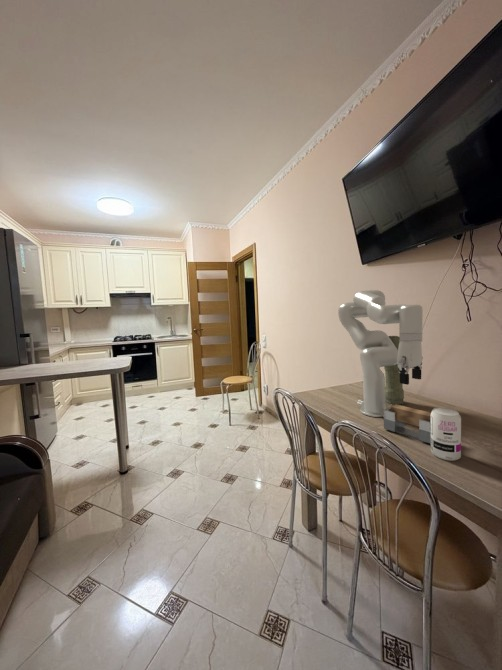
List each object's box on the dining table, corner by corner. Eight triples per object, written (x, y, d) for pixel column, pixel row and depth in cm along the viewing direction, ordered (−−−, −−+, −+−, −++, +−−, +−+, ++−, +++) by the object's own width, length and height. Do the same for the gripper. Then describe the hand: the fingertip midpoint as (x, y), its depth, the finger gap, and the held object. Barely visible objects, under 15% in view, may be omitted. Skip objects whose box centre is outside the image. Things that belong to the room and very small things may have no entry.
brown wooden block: (390, 418, 109) (390, 406, 109) (395, 415, 112) (395, 404, 111) (429, 429, 98) (429, 416, 97) (433, 426, 100) (433, 413, 100)
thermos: (378, 400, 146) (377, 336, 143) (400, 399, 146) (400, 334, 143) (386, 405, 137) (385, 337, 134) (410, 404, 137) (409, 336, 134)
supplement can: (447, 448, 94) (447, 406, 93) (467, 460, 86) (467, 415, 85) (425, 449, 94) (424, 407, 92) (442, 462, 85) (442, 417, 84)
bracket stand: (382, 429, 111) (382, 409, 110) (392, 424, 115) (392, 405, 114) (434, 447, 95) (434, 423, 94) (444, 440, 99) (444, 417, 99)
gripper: (411, 334, 110) (411, 375, 112) (388, 339, 100) (389, 383, 102) (431, 335, 104) (431, 378, 105) (409, 340, 94) (409, 388, 96)
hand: (410, 381), depth 104 cm, fingers open, 9 cm apart
